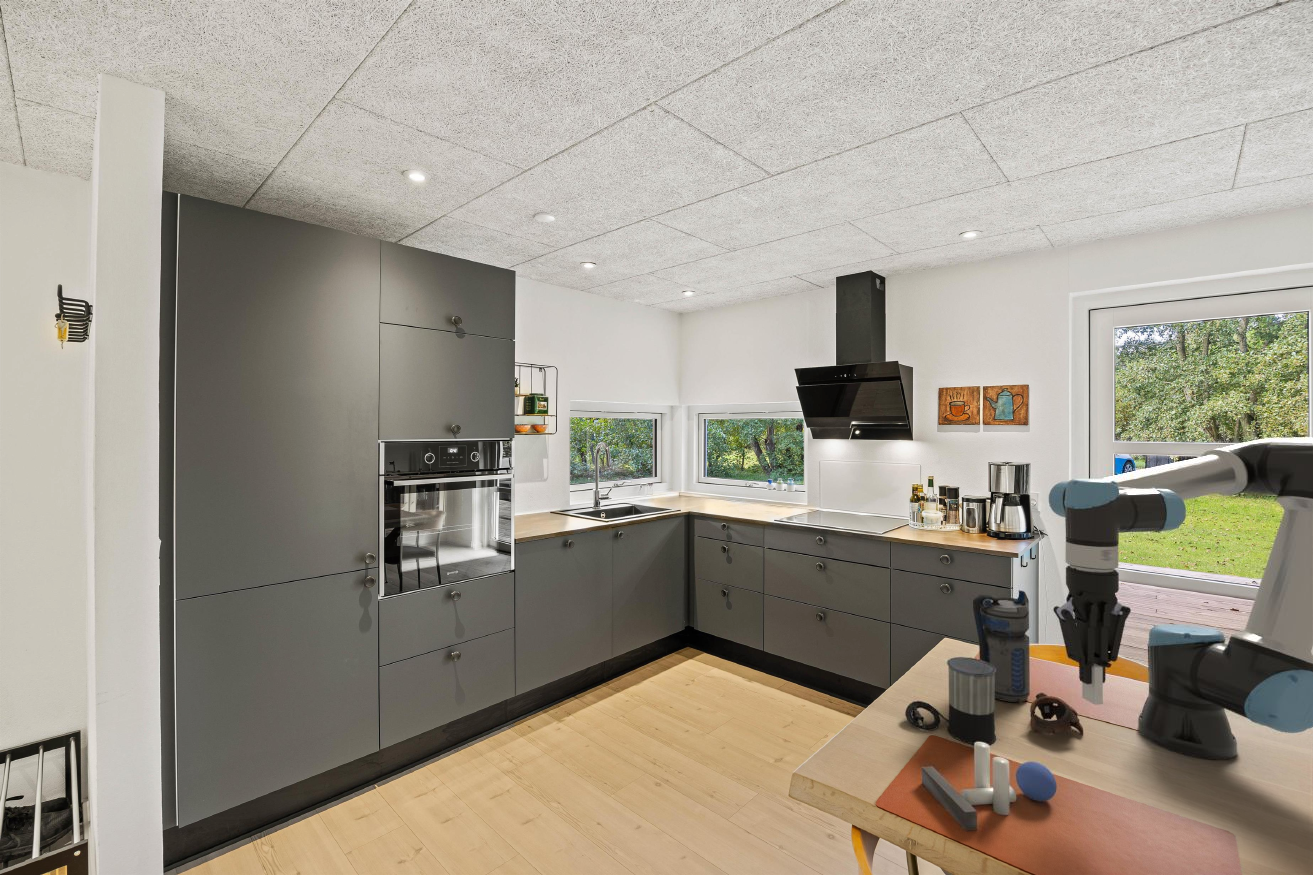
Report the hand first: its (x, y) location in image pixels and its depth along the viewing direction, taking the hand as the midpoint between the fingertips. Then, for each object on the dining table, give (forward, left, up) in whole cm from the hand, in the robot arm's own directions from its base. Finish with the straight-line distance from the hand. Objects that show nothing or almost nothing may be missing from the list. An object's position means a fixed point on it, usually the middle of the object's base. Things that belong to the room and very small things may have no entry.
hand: (1092, 700), depth 105 cm
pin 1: (+19, -2, -16) cm, 25 cm away
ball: (+11, 0, -13) cm, 17 cm away
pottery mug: (-10, -21, -17) cm, 29 cm away
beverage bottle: (-10, -38, -17) cm, 43 cm away
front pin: (+15, 0, -15) cm, 22 cm away
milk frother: (+12, -24, -17) cm, 31 cm away
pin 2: (+19, +2, -16) cm, 25 cm away
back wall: (+27, 0, -16) cm, 32 cm away
